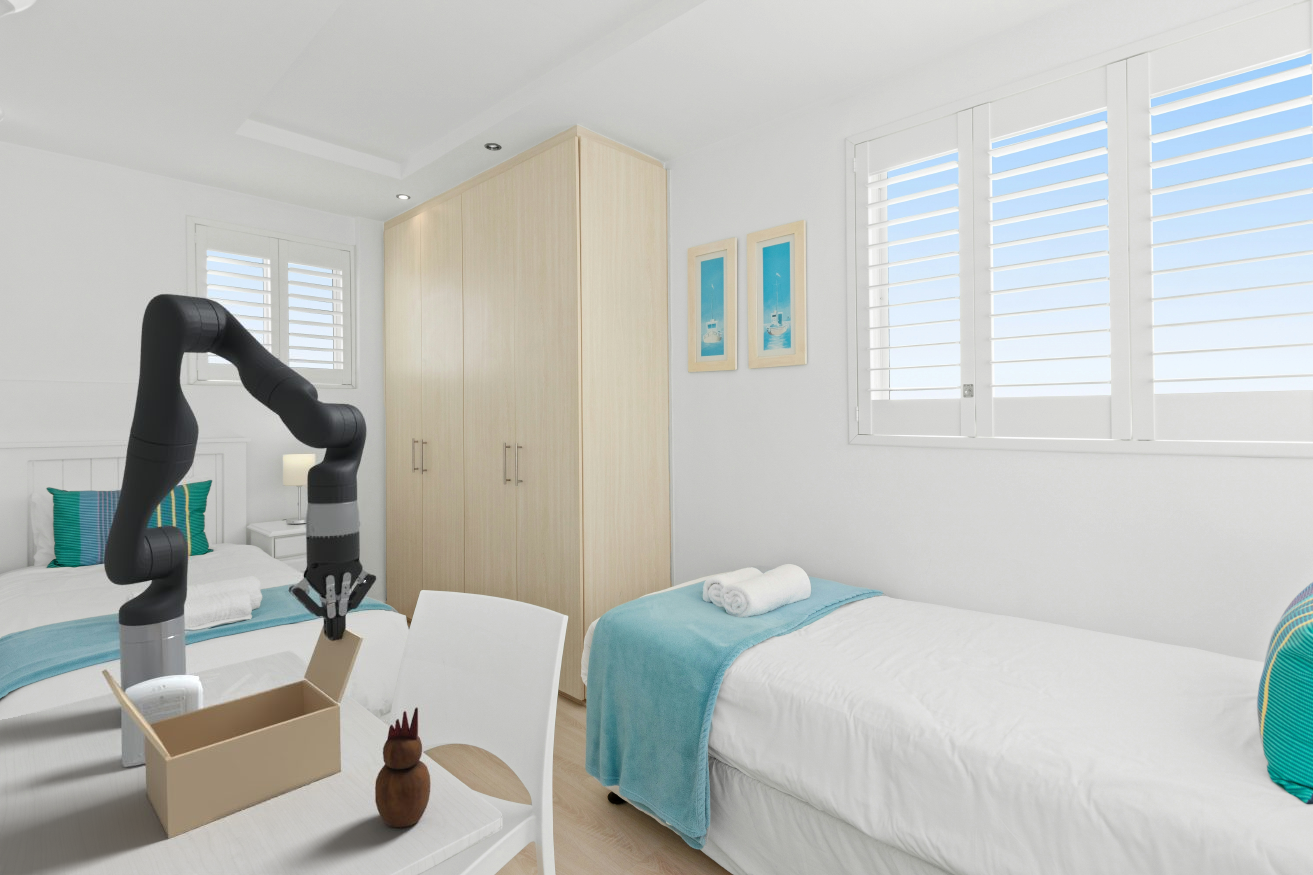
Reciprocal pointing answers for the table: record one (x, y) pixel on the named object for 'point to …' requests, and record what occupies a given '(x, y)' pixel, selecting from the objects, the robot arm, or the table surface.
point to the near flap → (134, 713)
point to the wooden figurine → (402, 776)
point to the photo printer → (157, 709)
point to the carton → (240, 754)
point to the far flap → (333, 663)
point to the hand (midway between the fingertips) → (334, 638)
